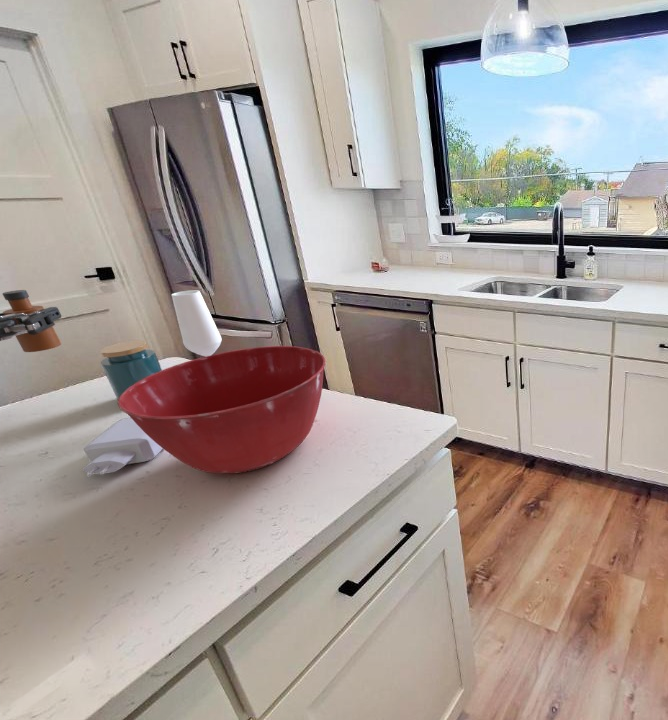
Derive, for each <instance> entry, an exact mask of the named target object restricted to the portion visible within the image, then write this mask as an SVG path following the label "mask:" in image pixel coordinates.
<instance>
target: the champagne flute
mask: <svg viewBox="0 0 668 720" xmlns="http://www.w3.org/2000/svg"><path fill="white" fill-rule="evenodd" d="M171 299H172V303H173V307H174V312H175V315H176V319H177V323H178V327H179V331H180V335H181V340H182V343H183V346H184V348H185V349H187V350H188V351H189V352H191V353H194V354H196V355H199V356H202V357H206V356H210V355H214V354H215V353H216V351H217V350H218V348H220V346H221V344H222V335H221V334H220V331H219V329H218V327H217V325H216V322H215V321H214V319H213V317H212V314H211V312H210V309H209V307H208V306H207V304H206V302H205V299H204V297H203V295H202V293H201V291H200V290H199V289H191V290H183V291H182V290H181V291H178V292H174V293H171Z"/></svg>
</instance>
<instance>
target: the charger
mask: <svg viewBox="0 0 668 720" xmlns="http://www.w3.org/2000/svg"><path fill="white" fill-rule="evenodd" d="M162 450H164V449H163V448H162V447H161V446H159V445H158V444H157V443H156V442H154V441H153V440H152V439H151V438H150V437H149V436H148V435H147V434H146V433H145V432H144V431H143V430H142V429H141V428H140V427H139V426H138V425H137V424H136V423H135V422H134V421H133V420H132V418H131V417H125V418H120V419H119V420H118V421H116V422H115V423H113V424H112V425H111V426H110V427H108V428H107V429H106V430H104V431H103V432H102V433H100V435H98V436H97V437H96V438H94V439H93V440H92V441H90V442H89V443H88V444H86V445H85V446H84V447H83V451H84V453H85V455H86V457H87V459H88V461H89V463H88V464H86V465H85V466H84V467H83V469H82V471H83V472H86V473H87V474H86V475H85V476H86V477H91V476H92V475H93V474H96V475H101V476H102V475H104V474H108V473H116V472H117V471H119V470H120V469H123V468H124V467H125V466H126V465H131V464H137V463H138V464H139V463H143V462H149V461H151V460H154V458H156V457H157V456H158V454H159V453H161V451H162Z"/></svg>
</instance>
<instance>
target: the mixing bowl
mask: <svg viewBox="0 0 668 720" xmlns="http://www.w3.org/2000/svg"><path fill="white" fill-rule="evenodd" d="M325 367H326V357H325V356H324V355H323V354H322V353H321V352H319V351H318V350H315V349H311V348H307V347H303V346H291V345H274V346H273V345H270V346H257V347H250V348H241V349H235V350H230V351H224V352H221V353H220V352H219V353H214V354H212V355H210V356H206V357H205V356H202V357H198V358H195V359H192V360H188V361H185V362H184V361H183V362H182V363H178V364H175V365H172V366H170V367H166V368H163V369H162V370H161V371H159V372H157V373H154V374H152V375H150V376H148V377H146V378H144V379H142V380H140V381H139V382H137V383H135V384H134V385H132V386H130V387H129V388H128V389H127V390H125V391H124V392H123V393H122V395H121V396H120V397H119V400H117V405H118V408H119V409H120V410H121V412H123V413H125V414H126V415H128V416H129V418H132V420H133V421H134V422H135V423H136V424H137V425H138V426H139V427H140V428H141V429H142V430H143V431H144V432H145V433H146V434H147V435H148V436H149V437H150V438H151V439H152V440H153V441H154V442H156V443H157V444H158V445H159V446H161V447H162V448H163V449H162V450H164V451H165V452H167V453H168V454H170V455H171V456H172V457H174V458H175V459H177V460H178V461H180V462H181V463H183V464H185V465H187V466H189V467H191V468H193V469H195V470H199V471H202V472H206V473H214V474H241V473H242V472H243V473H247V471H248V472H252V471H255V470H254V469H256V470H259V469H262V468H265V467H267V465H268V466H270V465H272V464H274V463H276V461H277V462H278V461H280V460H282V459H283V458H286V457H287V456H288V455H289V454H290V453H291V452H292V451H294V450H295V449H296V448H298V447H299V446H300V445H301V444H302V443H303V442H304V441H305V439H306V438H307V436H308V435H309V434H310V432H311V430H312V428H313V426H314V422H315V420H316V417H317V413H318V410H319V406H320V403H321V398H322V391H323V385H324V384H323V383H324V369H325ZM287 454H288V455H287ZM281 458H282V459H281ZM264 466H265V467H264ZM258 468H259V469H258ZM251 470H252V471H251Z"/></svg>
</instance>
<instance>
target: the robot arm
mask: <svg viewBox="0 0 668 720" xmlns="http://www.w3.org/2000/svg"><path fill="white" fill-rule="evenodd" d="M28 317H29V318H28ZM12 318H16V320H17V322H18V324H19V325H17V323H16V321H15V320H13V319H12ZM61 318H62V314H61V312H60V309H59V308H58V307H57V306H49V307H47V308H44V309H43V310H40V311H34V312H32V313H27V314H23V313H13V314H9V315H4V314H3V312H0V342H1V341H6V340H10V339H12V338H13V337H16V335H20V334H24V333H28V334H29V335H35V334H37V333H40V332H42V331H44V330H46V329H48V328H50V327H52V326H53V327H54V326H56V324H55V321H56V320H59V319H61Z"/></svg>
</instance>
